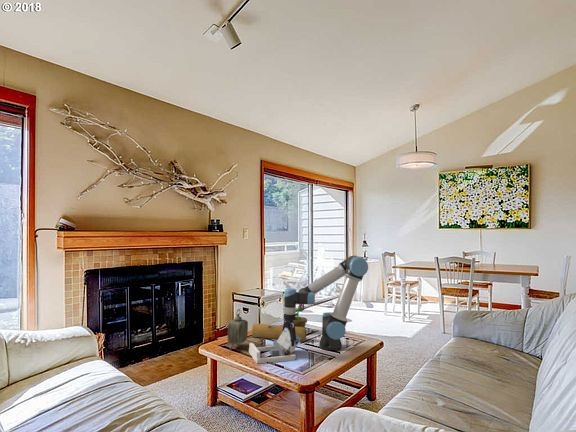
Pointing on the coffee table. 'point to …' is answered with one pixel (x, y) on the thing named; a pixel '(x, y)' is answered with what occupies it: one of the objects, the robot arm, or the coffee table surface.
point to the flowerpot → (300, 320)
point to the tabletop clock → (237, 331)
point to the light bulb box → (287, 340)
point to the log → (274, 331)
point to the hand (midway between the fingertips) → (288, 347)
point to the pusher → (277, 349)
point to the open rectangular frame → (256, 356)
